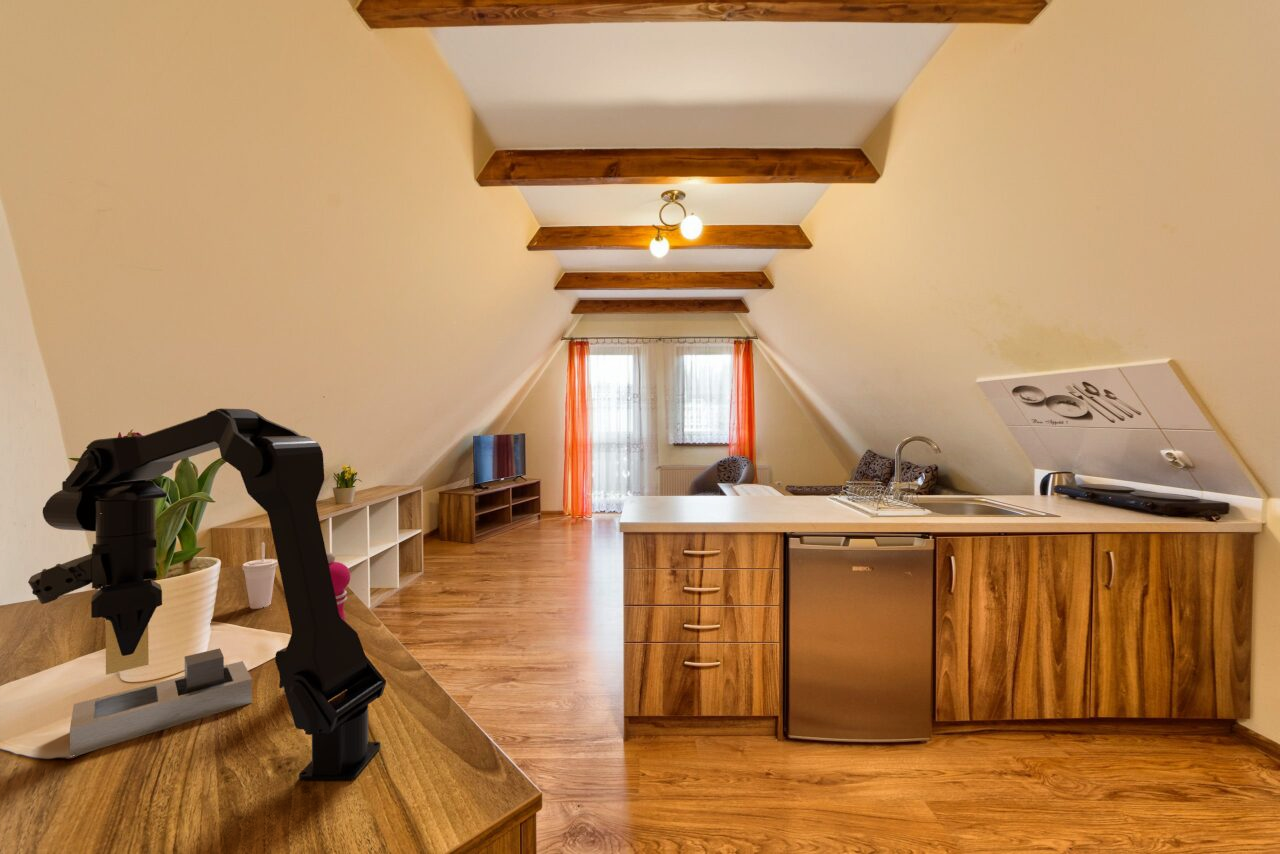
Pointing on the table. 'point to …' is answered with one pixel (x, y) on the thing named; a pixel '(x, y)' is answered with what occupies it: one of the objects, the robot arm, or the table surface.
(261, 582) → the smoothie
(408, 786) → the table surface
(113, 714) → the grey slotted block holder
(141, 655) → the wooden toy block
